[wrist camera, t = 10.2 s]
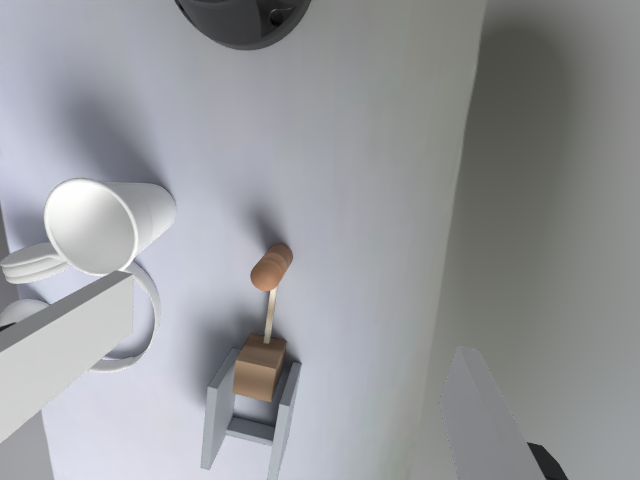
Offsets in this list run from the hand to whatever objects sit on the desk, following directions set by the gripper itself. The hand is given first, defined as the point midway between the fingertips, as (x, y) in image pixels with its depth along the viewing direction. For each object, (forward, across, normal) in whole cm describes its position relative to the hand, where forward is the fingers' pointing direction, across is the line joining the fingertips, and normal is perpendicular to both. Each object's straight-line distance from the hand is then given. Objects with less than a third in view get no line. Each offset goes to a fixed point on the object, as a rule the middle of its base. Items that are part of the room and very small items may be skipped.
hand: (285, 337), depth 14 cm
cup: (+29, -23, -5) cm, 37 cm away
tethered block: (+29, -6, -16) cm, 33 cm away
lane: (+29, -6, -30) cm, 42 cm away
